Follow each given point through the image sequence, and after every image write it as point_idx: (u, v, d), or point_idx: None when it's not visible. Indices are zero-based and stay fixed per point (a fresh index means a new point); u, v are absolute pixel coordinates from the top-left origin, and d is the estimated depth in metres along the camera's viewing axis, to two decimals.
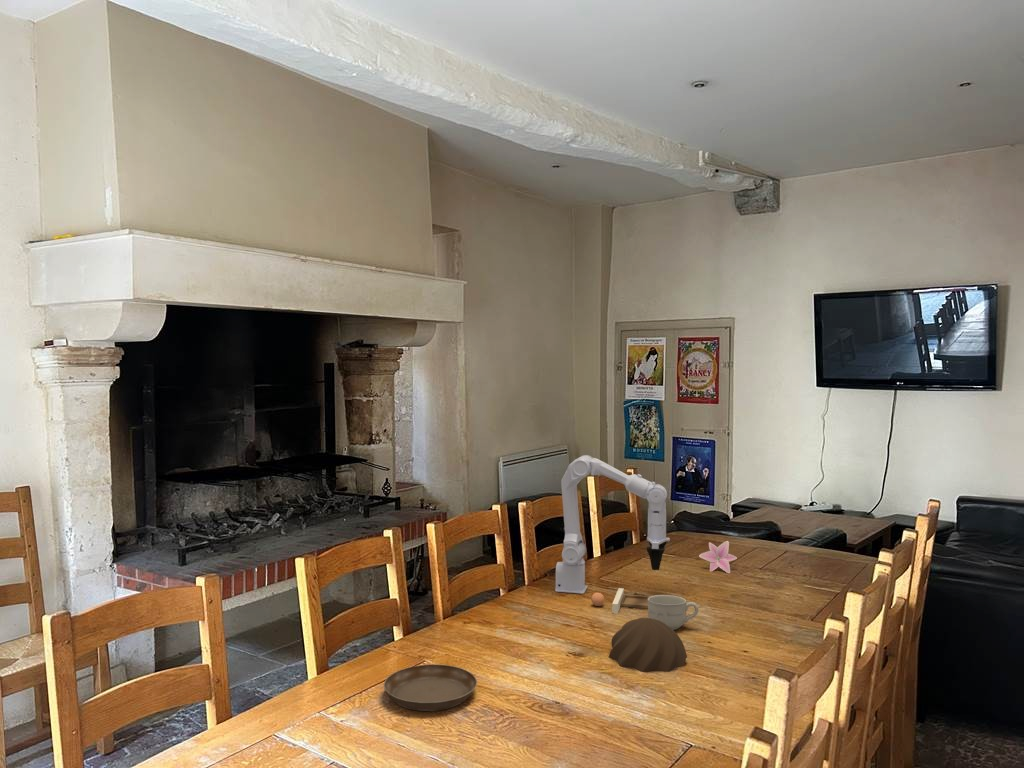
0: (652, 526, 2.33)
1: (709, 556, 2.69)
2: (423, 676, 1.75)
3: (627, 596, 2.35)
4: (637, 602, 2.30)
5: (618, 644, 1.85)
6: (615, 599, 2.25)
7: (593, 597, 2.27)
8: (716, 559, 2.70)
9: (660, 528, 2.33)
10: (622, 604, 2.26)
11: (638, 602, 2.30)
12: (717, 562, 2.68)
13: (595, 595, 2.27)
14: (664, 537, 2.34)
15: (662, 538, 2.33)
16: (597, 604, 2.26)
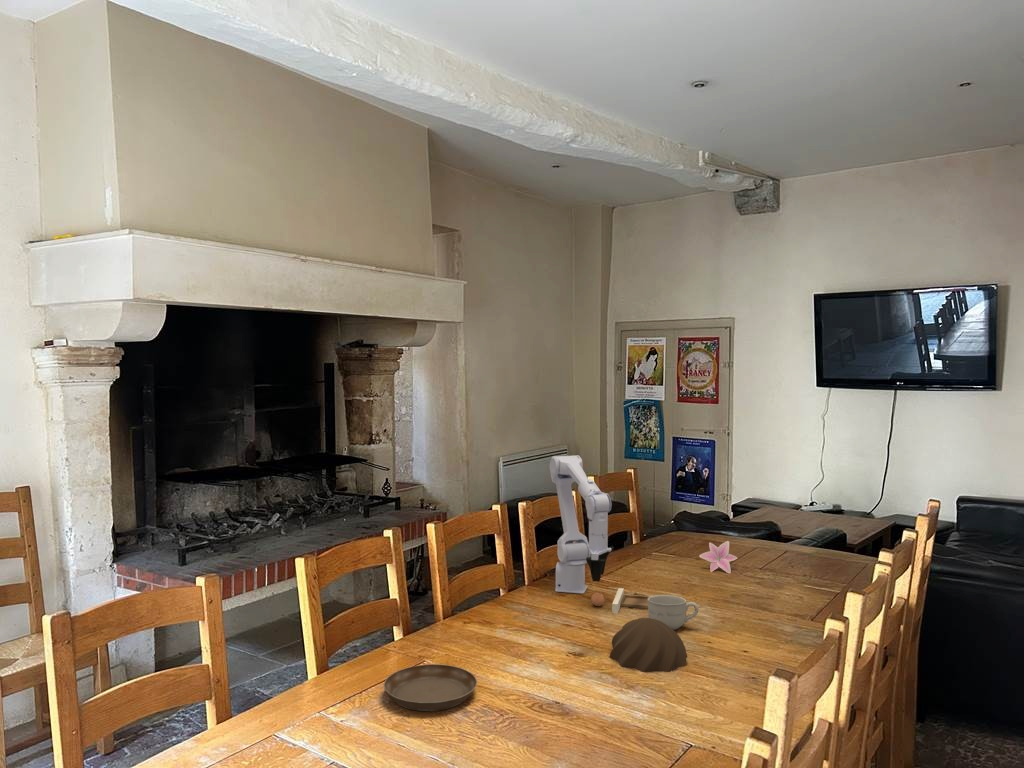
0: (593, 536, 2.25)
1: (709, 556, 2.69)
2: (423, 676, 1.75)
3: (627, 596, 2.35)
4: (637, 602, 2.30)
5: (619, 644, 1.85)
6: (615, 599, 2.25)
7: (593, 597, 2.27)
8: (716, 559, 2.69)
9: (601, 538, 2.25)
10: (622, 604, 2.26)
11: (638, 602, 2.30)
12: (718, 562, 2.68)
13: (595, 595, 2.27)
14: (605, 547, 2.26)
15: (603, 548, 2.25)
16: (597, 604, 2.26)
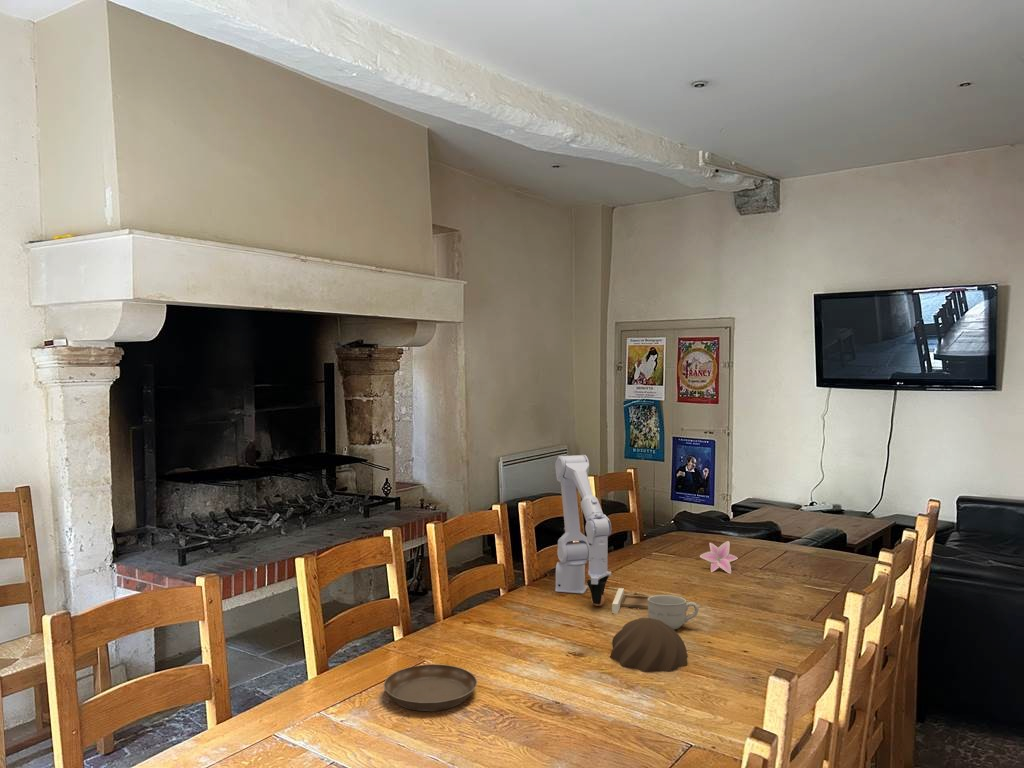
0: (592, 560, 2.25)
1: (710, 556, 2.69)
2: (423, 676, 1.75)
3: (627, 596, 2.35)
4: (637, 602, 2.30)
5: (620, 644, 1.85)
6: (615, 599, 2.25)
7: None
8: (717, 559, 2.69)
9: (601, 562, 2.25)
10: (622, 604, 2.26)
11: (638, 602, 2.30)
12: (718, 562, 2.68)
13: None
14: (605, 571, 2.26)
15: (603, 572, 2.25)
16: (597, 604, 2.26)
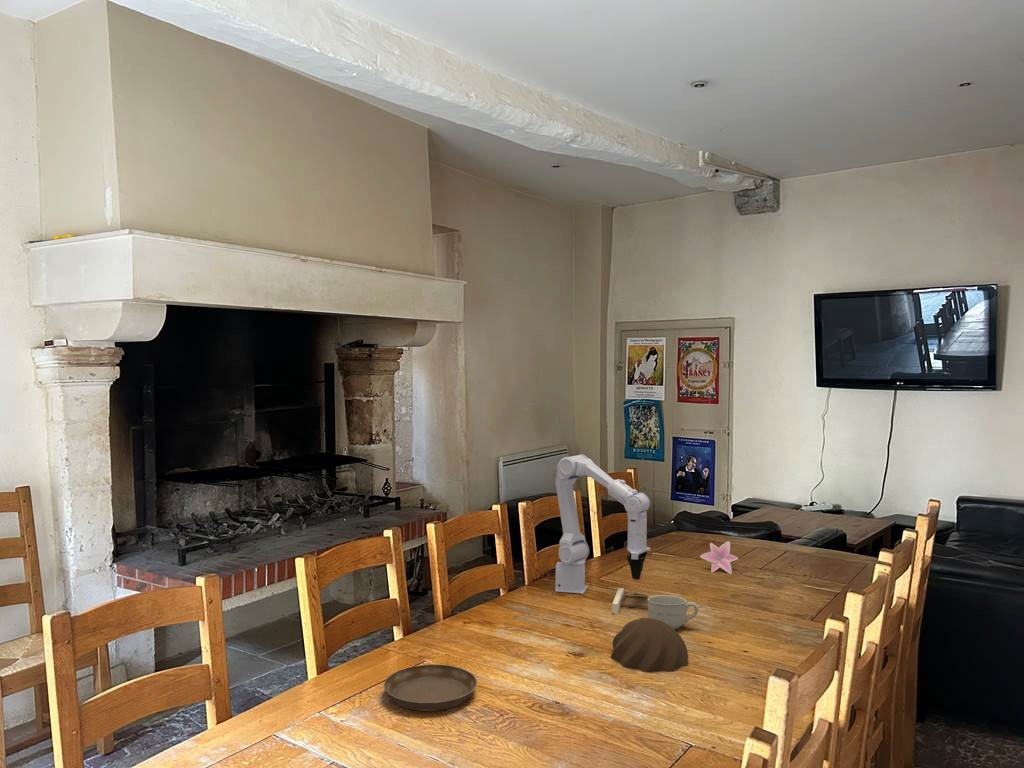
0: (632, 536, 2.27)
1: (710, 556, 2.68)
2: (424, 676, 1.75)
3: (627, 596, 2.35)
4: (637, 602, 2.30)
5: (621, 645, 1.85)
6: (615, 599, 2.25)
7: None
8: (717, 560, 2.69)
9: (640, 538, 2.26)
10: (622, 604, 2.26)
11: (638, 602, 2.30)
12: (719, 563, 2.67)
13: None
14: (644, 547, 2.27)
15: (642, 548, 2.27)
16: (636, 580, 2.28)
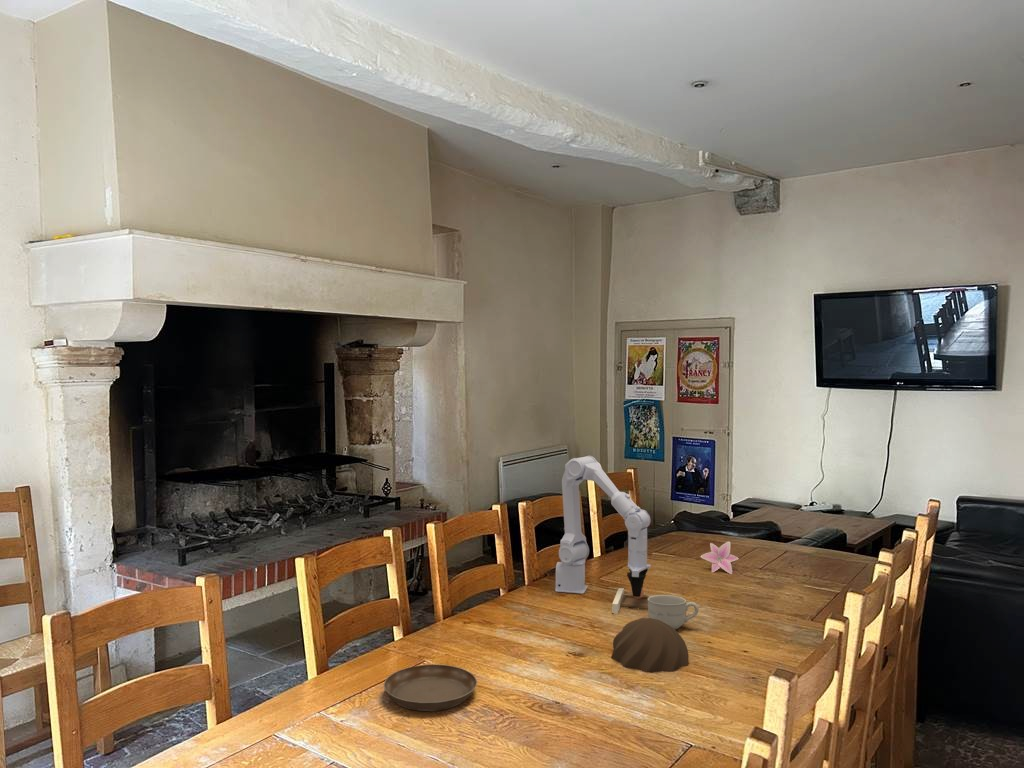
0: (632, 553, 2.27)
1: (710, 556, 2.68)
2: (424, 676, 1.75)
3: (627, 596, 2.35)
4: (637, 602, 2.30)
5: (621, 645, 1.85)
6: (615, 599, 2.25)
7: None
8: (718, 560, 2.69)
9: (641, 555, 2.27)
10: (622, 604, 2.26)
11: (638, 602, 2.30)
12: (719, 563, 2.67)
13: None
14: (645, 564, 2.28)
15: (643, 565, 2.27)
16: (637, 597, 2.28)
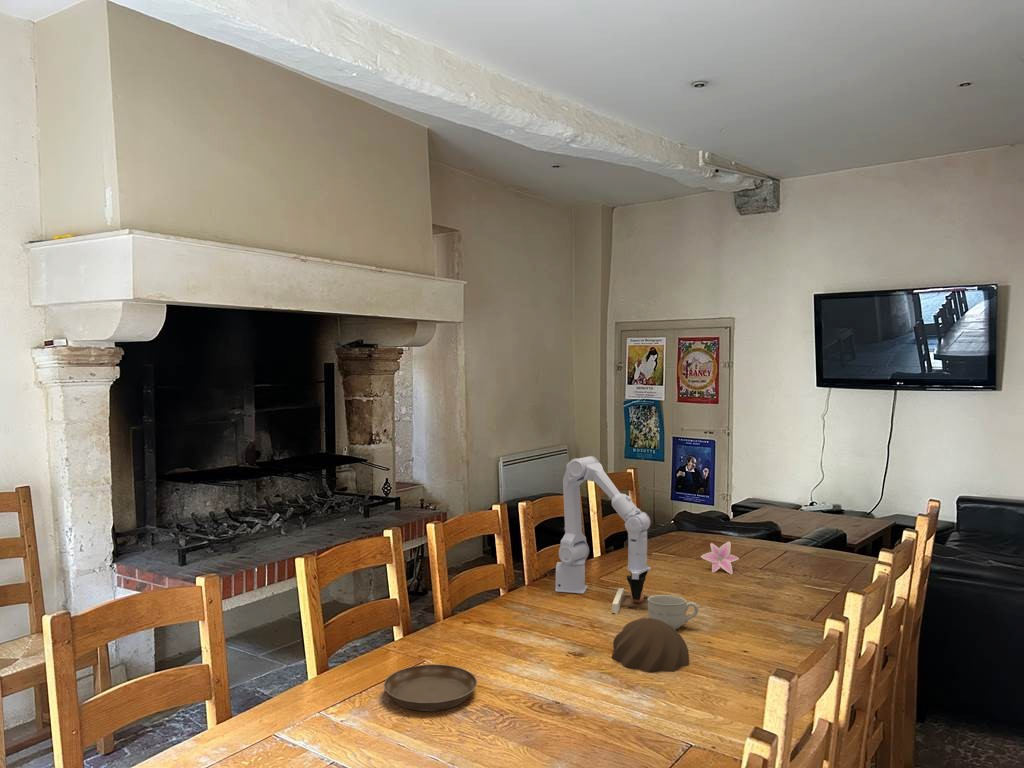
0: (632, 555, 2.27)
1: (711, 556, 2.68)
2: (424, 676, 1.75)
3: (627, 596, 2.35)
4: None
5: (622, 645, 1.84)
6: (615, 599, 2.25)
7: None
8: (718, 560, 2.69)
9: (641, 557, 2.27)
10: (622, 604, 2.26)
11: None
12: (719, 563, 2.67)
13: None
14: (645, 566, 2.28)
15: (643, 567, 2.27)
16: (637, 601, 2.28)
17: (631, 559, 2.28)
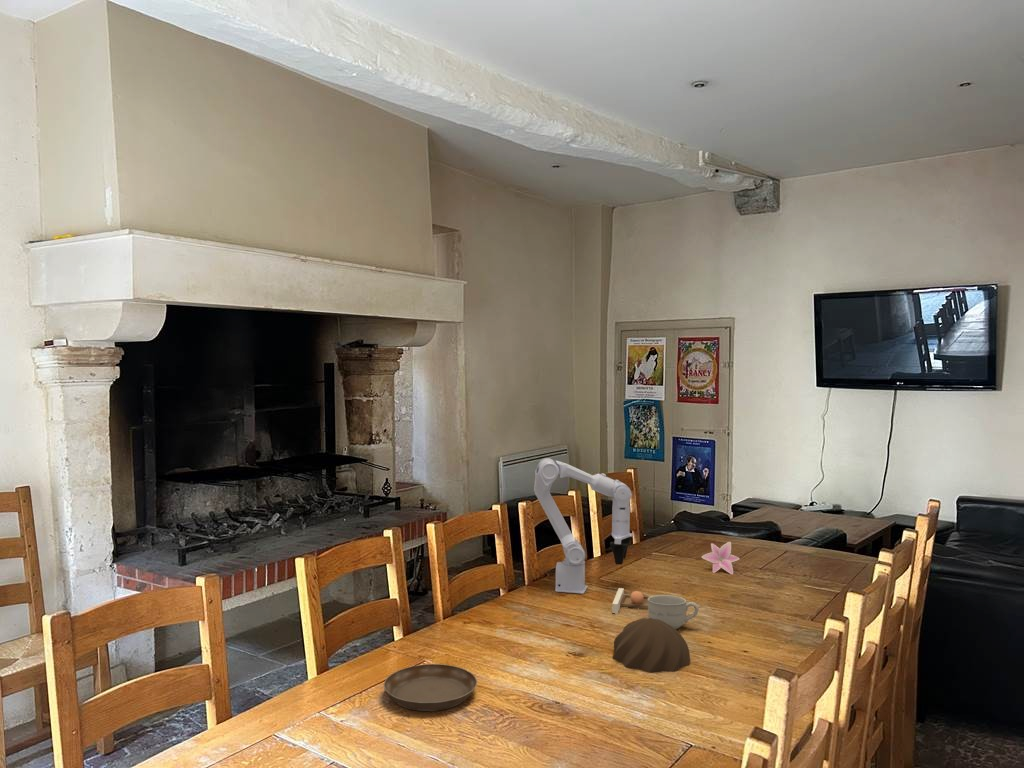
0: (616, 522, 2.42)
1: (711, 557, 2.68)
2: (423, 675, 1.75)
3: (627, 596, 2.35)
4: None
5: (623, 645, 1.84)
6: (615, 599, 2.25)
7: (632, 600, 2.27)
8: (718, 560, 2.68)
9: (623, 524, 2.41)
10: (622, 604, 2.26)
11: None
12: (720, 563, 2.67)
13: (634, 599, 2.26)
14: (627, 533, 2.42)
15: (625, 534, 2.42)
16: None
17: (614, 526, 2.42)
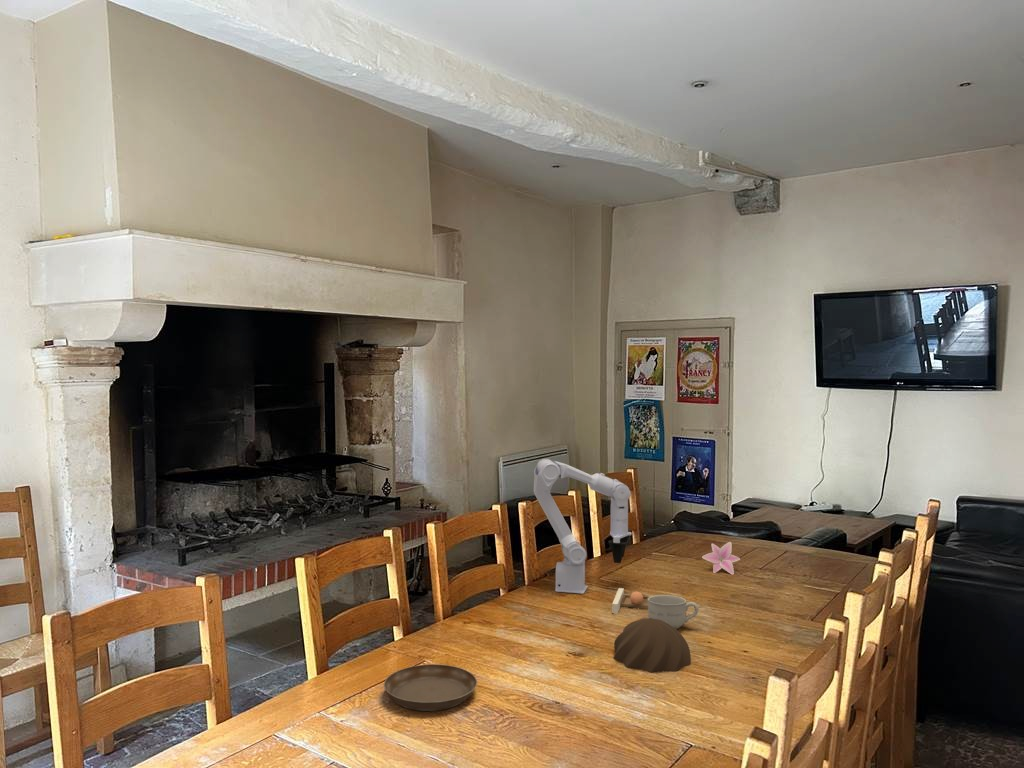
0: (614, 521, 2.43)
1: (712, 557, 2.67)
2: (423, 675, 1.75)
3: (627, 596, 2.35)
4: None
5: (624, 645, 1.84)
6: (615, 599, 2.25)
7: (632, 602, 2.27)
8: (719, 560, 2.68)
9: (622, 523, 2.43)
10: (622, 604, 2.26)
11: None
12: (720, 563, 2.67)
13: (634, 601, 2.26)
14: (626, 531, 2.44)
15: (624, 532, 2.43)
16: None
17: (613, 525, 2.44)
